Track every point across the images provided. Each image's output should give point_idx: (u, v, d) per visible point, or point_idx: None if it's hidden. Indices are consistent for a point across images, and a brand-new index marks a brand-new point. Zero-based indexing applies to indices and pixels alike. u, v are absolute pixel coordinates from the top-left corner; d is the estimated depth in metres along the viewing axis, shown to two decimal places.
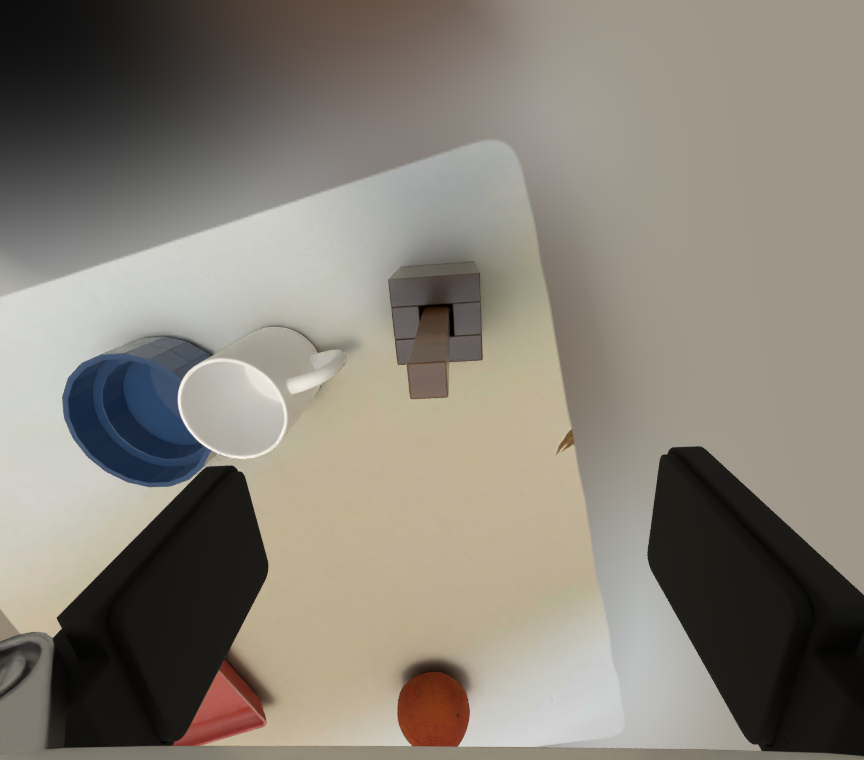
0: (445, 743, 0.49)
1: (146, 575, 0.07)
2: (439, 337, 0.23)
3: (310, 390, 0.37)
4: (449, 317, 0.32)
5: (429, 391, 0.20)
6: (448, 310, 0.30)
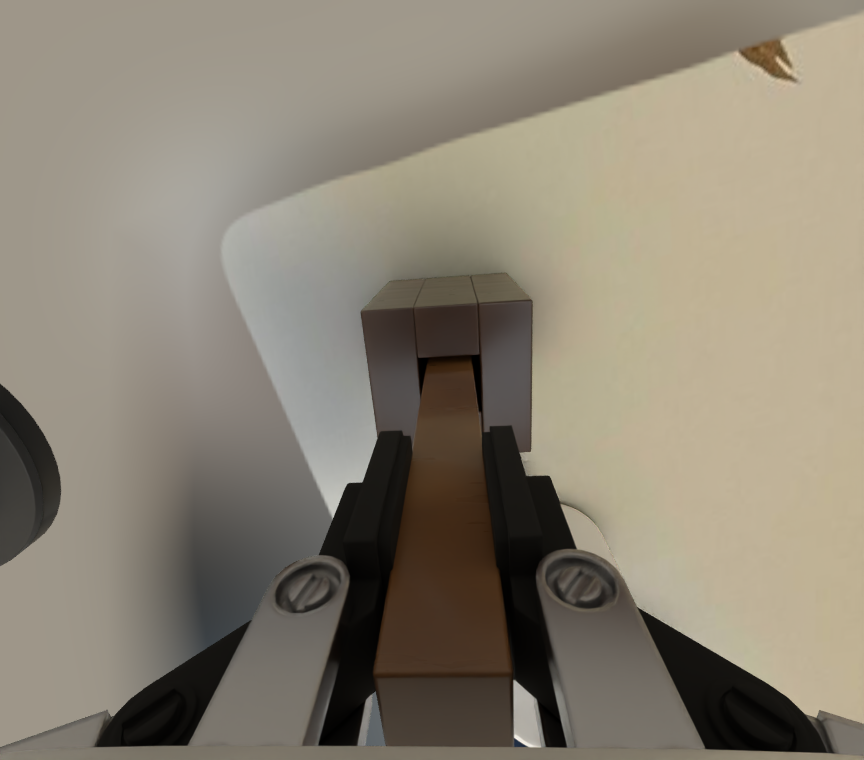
0: None
1: (390, 513, 0.07)
2: None
3: None
4: None
5: (485, 718, 0.06)
6: (427, 369, 0.16)
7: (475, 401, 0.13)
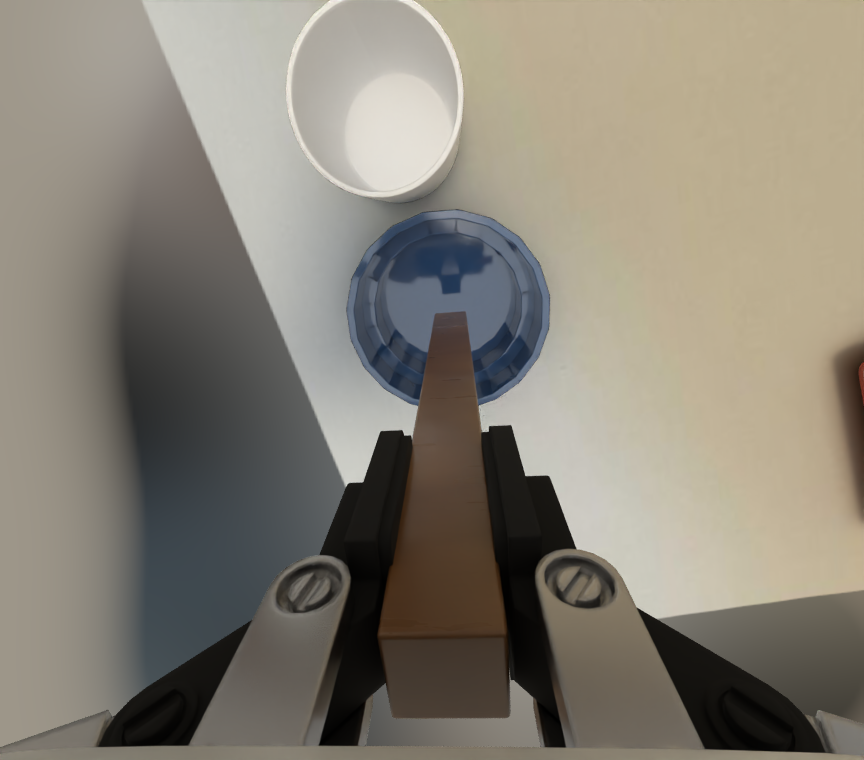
0: None
1: (390, 512, 0.07)
2: None
3: None
4: (452, 344, 0.18)
5: (483, 678, 0.06)
6: (428, 360, 0.17)
7: (474, 390, 0.13)
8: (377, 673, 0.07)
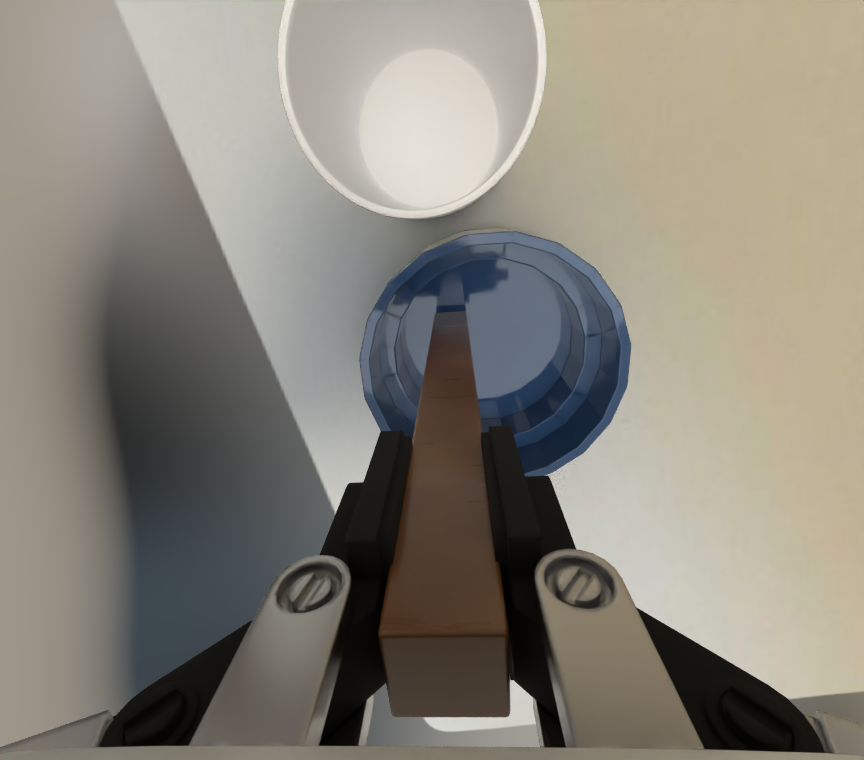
0: None
1: (391, 512, 0.07)
2: None
3: None
4: (452, 343, 0.18)
5: (483, 677, 0.06)
6: (428, 360, 0.17)
7: (474, 390, 0.13)
8: (377, 673, 0.07)
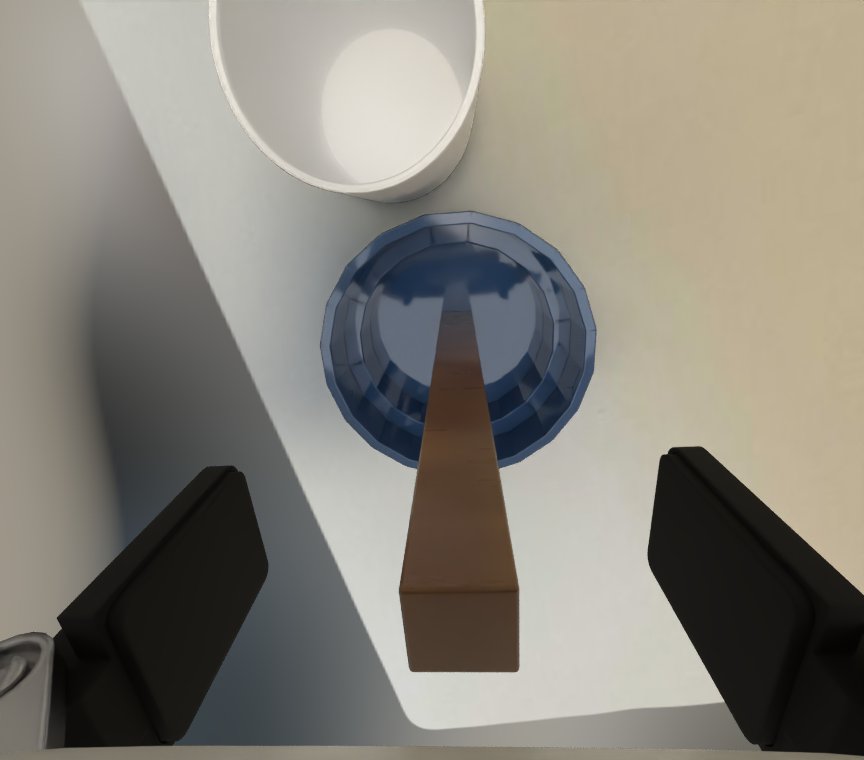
0: None
1: (146, 575, 0.07)
2: None
3: None
4: (459, 341, 0.19)
5: (495, 632, 0.07)
6: (436, 355, 0.17)
7: (482, 382, 0.14)
8: None
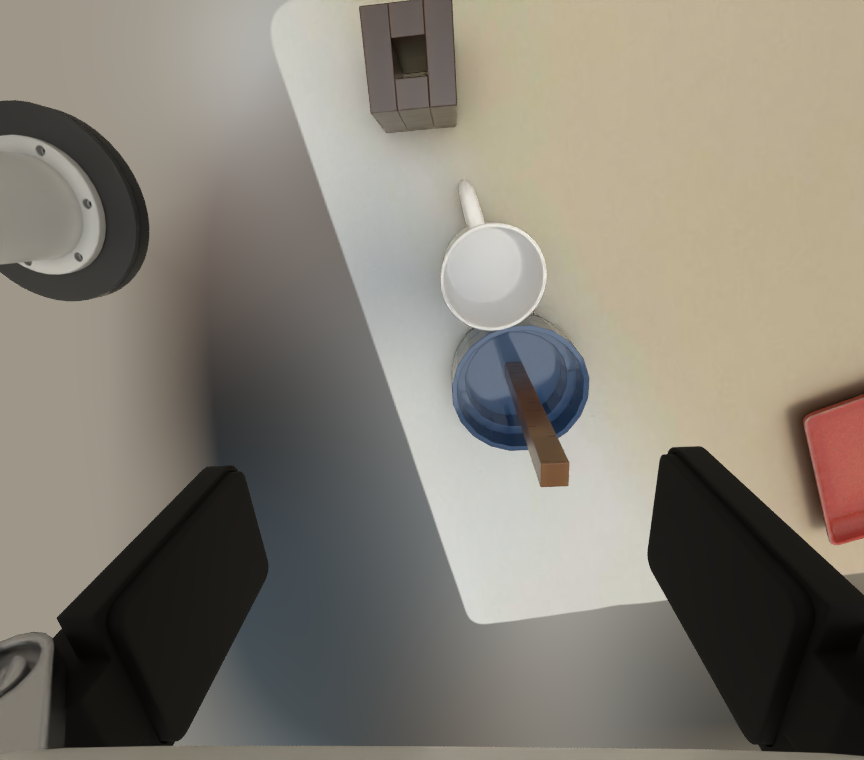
0: None
1: (146, 575, 0.07)
2: (529, 437, 0.31)
3: None
4: (524, 384, 0.40)
5: (563, 474, 0.27)
6: (516, 393, 0.38)
7: (542, 407, 0.35)
8: None
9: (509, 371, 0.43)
